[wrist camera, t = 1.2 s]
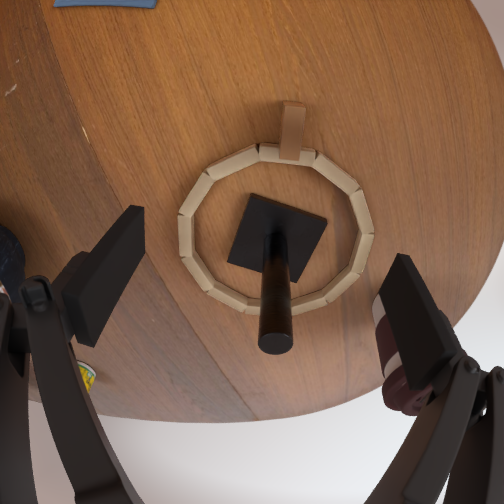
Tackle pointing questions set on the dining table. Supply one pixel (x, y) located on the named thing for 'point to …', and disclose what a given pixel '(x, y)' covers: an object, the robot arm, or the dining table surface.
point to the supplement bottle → (87, 374)
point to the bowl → (11, 265)
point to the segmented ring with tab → (288, 154)
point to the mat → (107, 3)
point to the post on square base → (275, 261)
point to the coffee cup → (394, 368)
